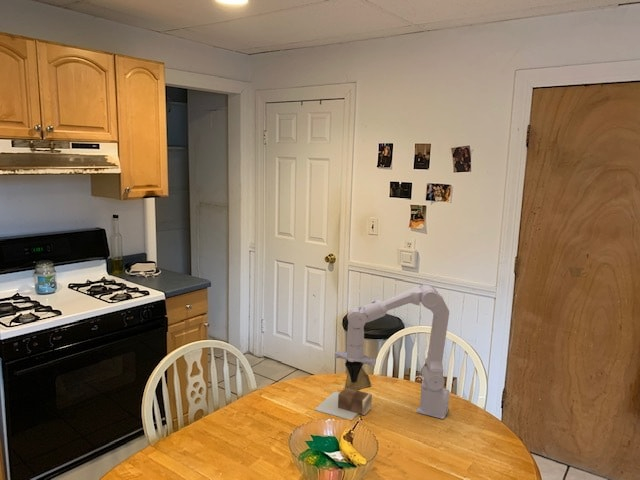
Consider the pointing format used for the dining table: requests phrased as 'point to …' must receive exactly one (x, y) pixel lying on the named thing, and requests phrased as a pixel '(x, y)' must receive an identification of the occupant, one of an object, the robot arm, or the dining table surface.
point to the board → (334, 407)
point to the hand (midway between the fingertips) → (354, 381)
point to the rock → (358, 381)
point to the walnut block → (354, 401)
